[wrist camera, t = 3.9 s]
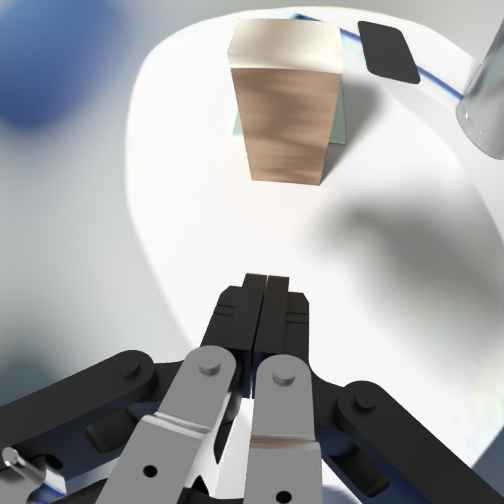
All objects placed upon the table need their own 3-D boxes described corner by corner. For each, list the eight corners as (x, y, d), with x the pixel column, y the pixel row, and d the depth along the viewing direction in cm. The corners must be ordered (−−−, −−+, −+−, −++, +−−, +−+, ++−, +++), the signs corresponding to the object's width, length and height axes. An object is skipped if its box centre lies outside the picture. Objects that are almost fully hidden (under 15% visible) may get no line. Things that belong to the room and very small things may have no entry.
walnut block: (320, 149, 26) (338, 23, 13) (319, 185, 25) (344, 57, 12) (257, 144, 27) (239, 19, 14) (251, 180, 26) (227, 51, 13)
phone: (400, 29, 32) (422, 83, 28) (399, 33, 33) (420, 87, 29) (356, 19, 33) (368, 70, 29) (356, 23, 34) (367, 75, 30)
